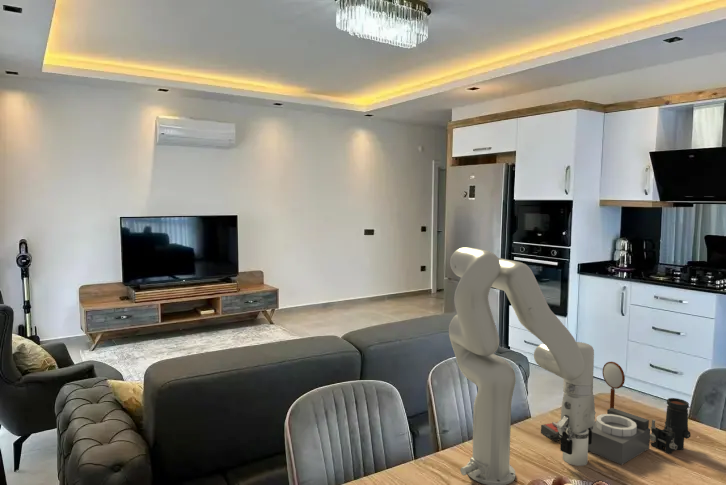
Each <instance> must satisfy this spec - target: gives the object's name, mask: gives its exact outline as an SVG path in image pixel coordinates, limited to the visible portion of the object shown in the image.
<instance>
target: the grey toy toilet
mask: <svg viewBox="0 0 726 485" xmlns="http://www.w3.org/2000/svg"><path fill="white" fill-rule="evenodd" d="M606 412H607V413H602V414H599V415H597V416H595V424H594V425H593V429H592V443H591V444H588V452H590V453H593V454H596V455H597V456H600V457H602V458H605V459H606V460H610V461H612V462H614V463H616V464H618V465H621V466H622V465H624V464H626V463H627V462H630V461H631V460H632V459H634V458H636V457H637V456H639V455H640V454H643V453H644V452H646V451H649V449H650V446H651V442H650V441H651V440H650V434H651V427H650V426H649V425H650V420H649V419H647V418H644V417H640V416H638V415H635V414H632V413H629V412H626V411H623V410H621V409H617V408H615V407H614V408H610V407H609V408H608V409H607V410H606Z"/></svg>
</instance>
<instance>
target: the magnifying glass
mask: <svg viewBox="0 0 726 485" xmlns="http://www.w3.org/2000/svg"><path fill="white" fill-rule="evenodd" d="M602 378H603V379H604V382H605V383H606V385H607V386H608V387H610V394H609V396H610V399H609V409H610V408H614V409H615V395H616V394H615V393H616V389H617V390H618V389H621V388H622V387H623V385H625V381H626V380H625V379H626V376H625V371H624V370H623V368H622V367H621V366H620V365H619V364H618V363H617V362H615V361H607V362H606V363H604V365H603V367H602Z"/></svg>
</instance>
